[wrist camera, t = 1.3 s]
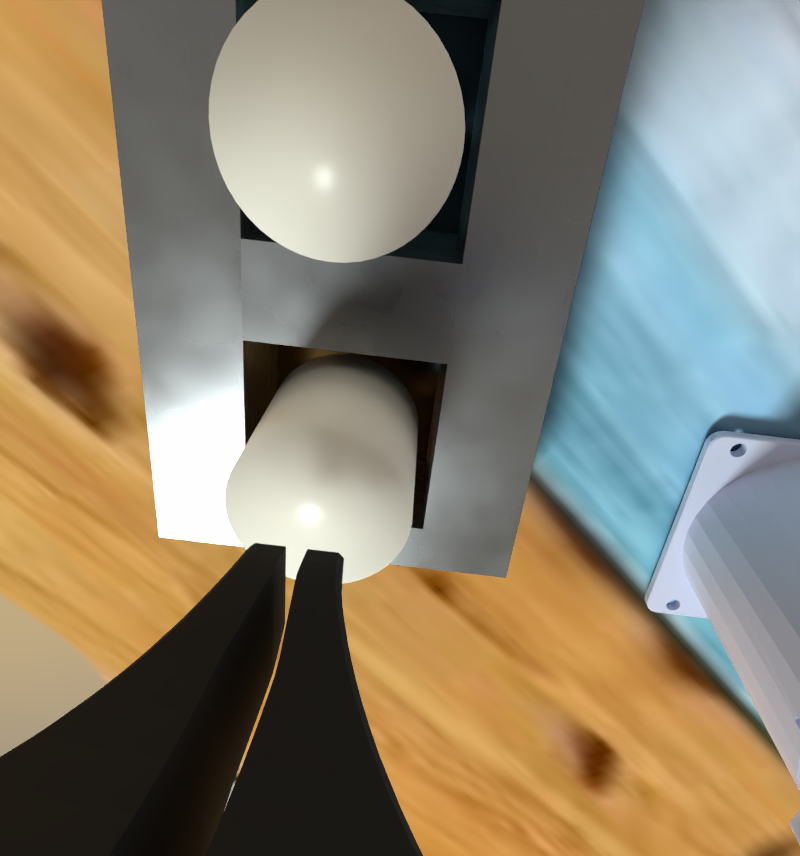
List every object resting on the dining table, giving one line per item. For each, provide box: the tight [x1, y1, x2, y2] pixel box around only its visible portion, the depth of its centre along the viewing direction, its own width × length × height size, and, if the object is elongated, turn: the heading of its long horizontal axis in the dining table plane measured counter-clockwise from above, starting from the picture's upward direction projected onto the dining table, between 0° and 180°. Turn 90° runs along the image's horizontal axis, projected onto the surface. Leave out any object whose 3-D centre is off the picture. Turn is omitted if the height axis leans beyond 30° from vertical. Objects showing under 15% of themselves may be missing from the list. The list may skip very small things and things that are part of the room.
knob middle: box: [209, 0, 465, 263], centre depth 12 cm, size 4×4×4 cm
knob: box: [225, 354, 419, 584], centre depth 16 cm, size 4×4×4 cm
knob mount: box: [102, 0, 644, 578], centre depth 15 cm, size 11×24×4 cm, turn 174°
